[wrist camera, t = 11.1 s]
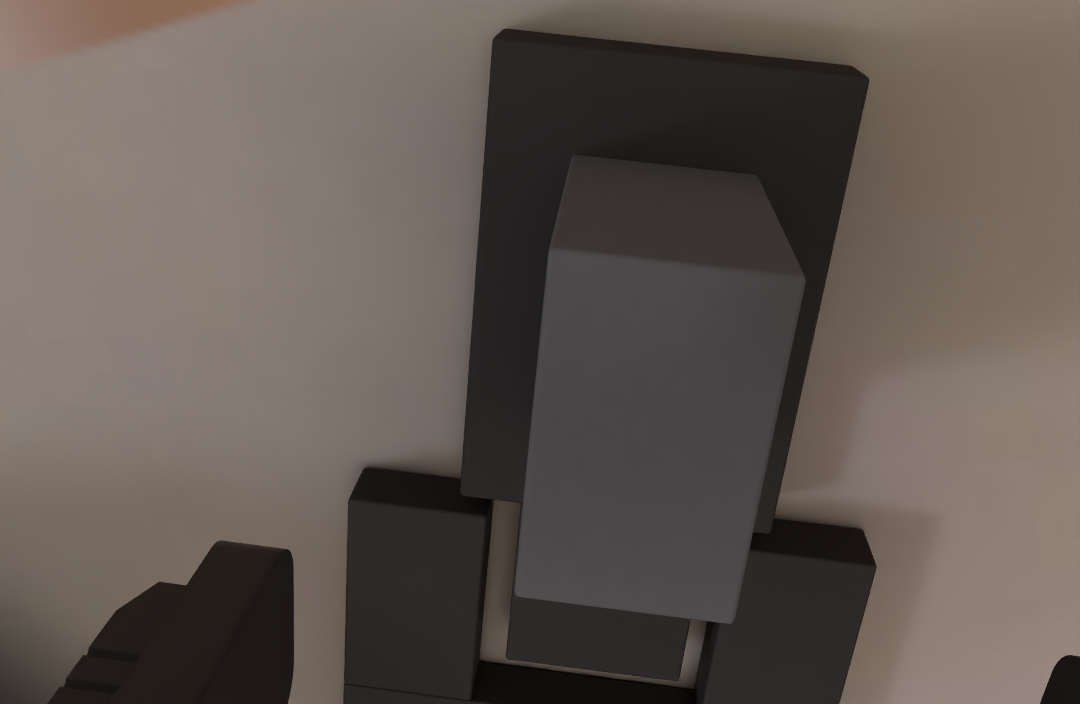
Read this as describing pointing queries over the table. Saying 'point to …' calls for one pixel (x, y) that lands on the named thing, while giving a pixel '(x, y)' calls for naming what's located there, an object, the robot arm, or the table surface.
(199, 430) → the table surface
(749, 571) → the notch pad
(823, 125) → the pad
